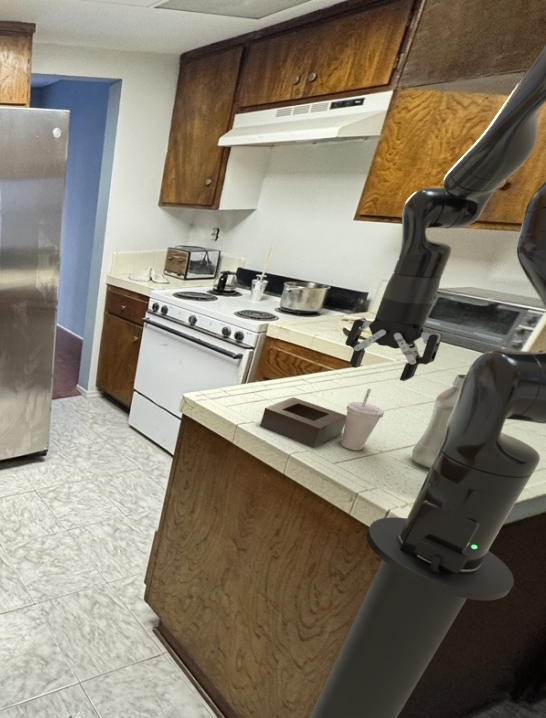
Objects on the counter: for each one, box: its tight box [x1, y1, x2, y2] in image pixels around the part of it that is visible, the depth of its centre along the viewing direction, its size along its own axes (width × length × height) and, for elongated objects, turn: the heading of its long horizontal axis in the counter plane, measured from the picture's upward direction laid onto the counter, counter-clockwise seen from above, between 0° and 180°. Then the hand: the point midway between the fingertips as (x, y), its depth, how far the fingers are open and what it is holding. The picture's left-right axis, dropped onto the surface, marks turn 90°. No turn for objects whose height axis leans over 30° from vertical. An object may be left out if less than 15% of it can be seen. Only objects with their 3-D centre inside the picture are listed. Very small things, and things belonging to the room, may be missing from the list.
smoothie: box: [340, 388, 385, 451], centre depth 103 cm, size 6×6×14 cm
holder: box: [259, 396, 347, 448], centre depth 112 cm, size 12×12×5 cm
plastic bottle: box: [411, 374, 466, 469], centre depth 95 cm, size 6×7×20 cm
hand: (378, 373), depth 99 cm, fingers open, 8 cm apart
